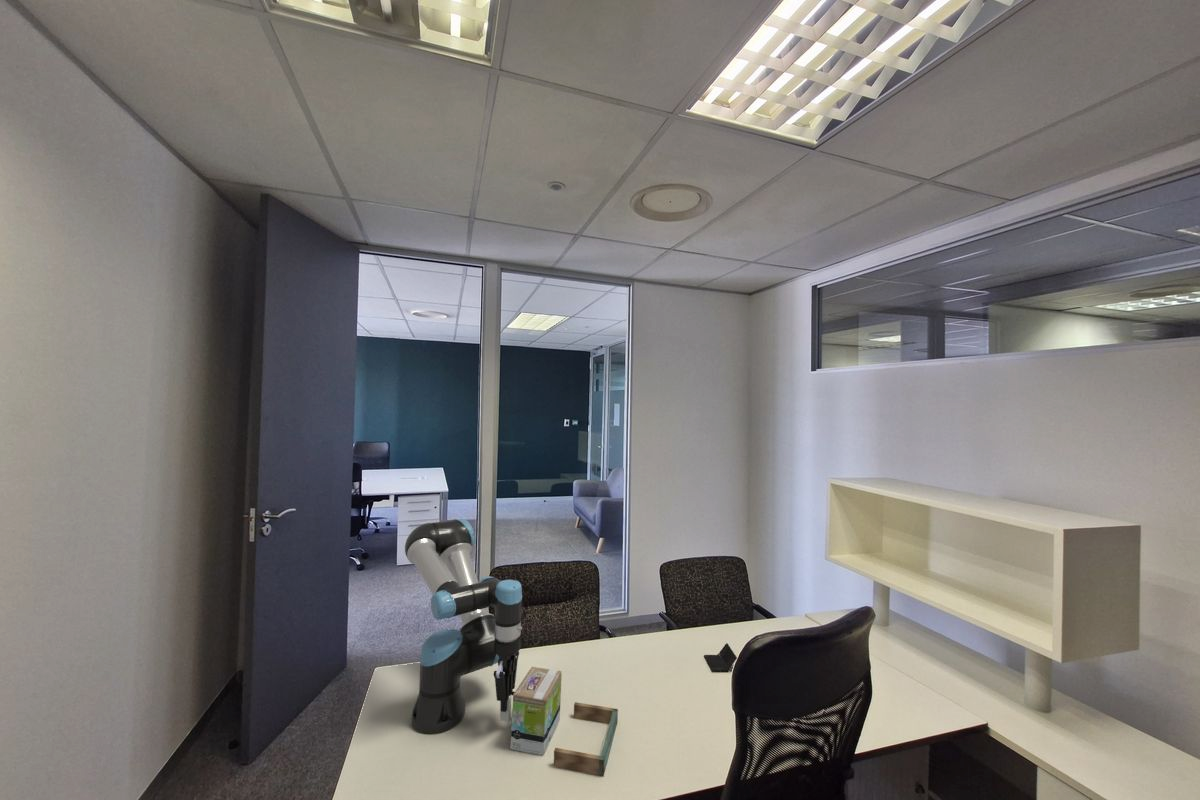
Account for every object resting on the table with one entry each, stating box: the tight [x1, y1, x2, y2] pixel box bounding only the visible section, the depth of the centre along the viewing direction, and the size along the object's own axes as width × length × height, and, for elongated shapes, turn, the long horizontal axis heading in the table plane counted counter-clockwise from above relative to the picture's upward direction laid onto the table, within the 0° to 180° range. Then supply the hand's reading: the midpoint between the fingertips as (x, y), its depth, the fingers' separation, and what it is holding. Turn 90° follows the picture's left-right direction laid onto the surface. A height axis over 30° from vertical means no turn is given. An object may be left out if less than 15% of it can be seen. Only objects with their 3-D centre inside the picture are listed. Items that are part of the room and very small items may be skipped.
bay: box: [553, 701, 619, 777], centre depth 123 cm, size 13×21×4 cm, turn 168°
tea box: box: [509, 666, 562, 756], centre depth 127 cm, size 15×10×15 cm
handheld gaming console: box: [703, 642, 738, 674], centre depth 165 cm, size 12×7×10 cm
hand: (505, 720), depth 128 cm, fingers closed
